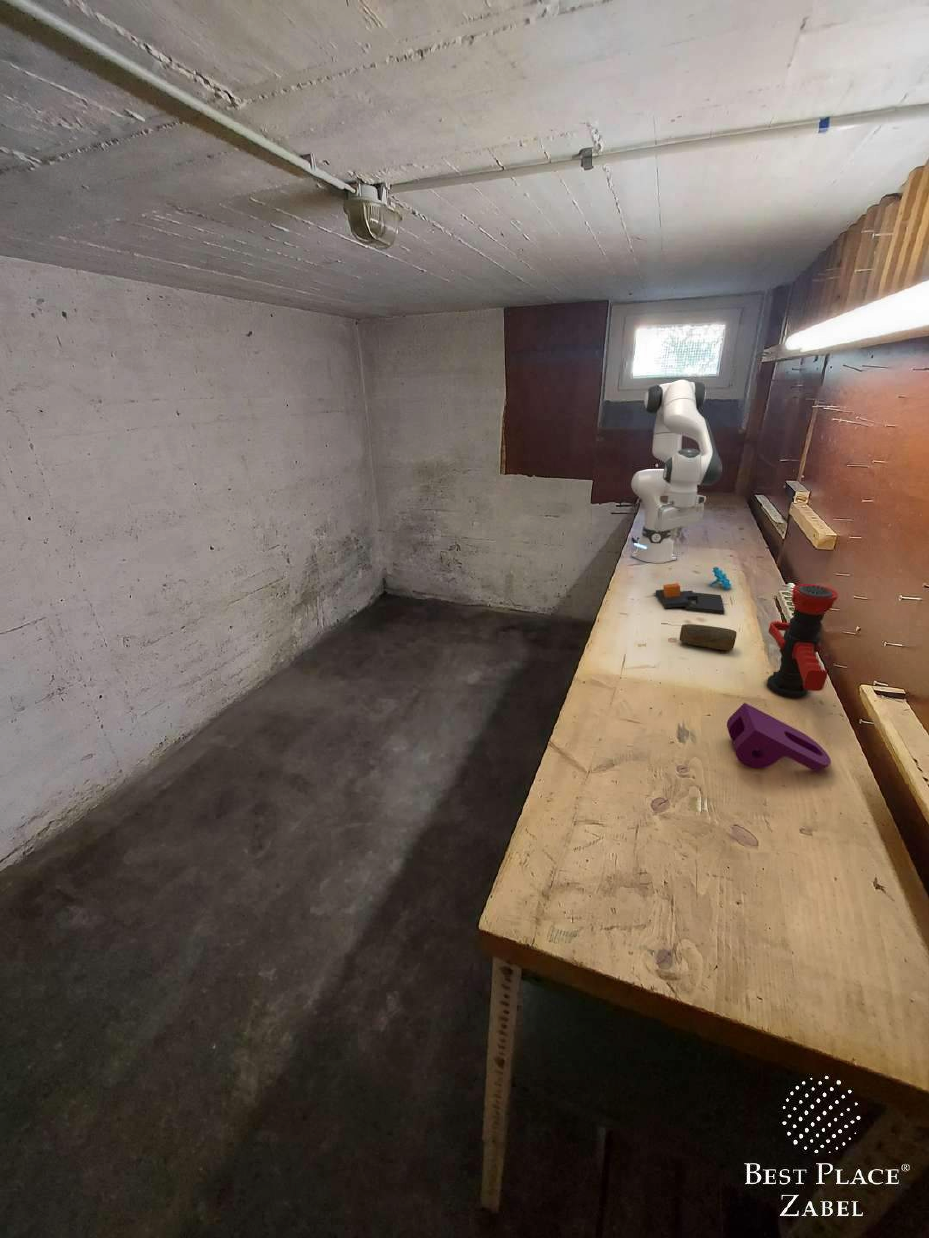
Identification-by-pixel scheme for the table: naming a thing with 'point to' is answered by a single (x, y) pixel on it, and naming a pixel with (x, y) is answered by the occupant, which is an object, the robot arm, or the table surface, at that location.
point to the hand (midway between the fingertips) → (675, 538)
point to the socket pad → (707, 604)
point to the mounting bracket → (771, 741)
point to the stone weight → (708, 636)
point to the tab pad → (676, 599)
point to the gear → (721, 578)
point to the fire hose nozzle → (801, 643)
